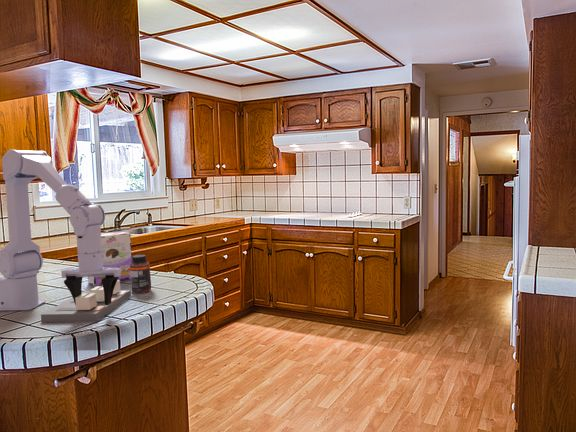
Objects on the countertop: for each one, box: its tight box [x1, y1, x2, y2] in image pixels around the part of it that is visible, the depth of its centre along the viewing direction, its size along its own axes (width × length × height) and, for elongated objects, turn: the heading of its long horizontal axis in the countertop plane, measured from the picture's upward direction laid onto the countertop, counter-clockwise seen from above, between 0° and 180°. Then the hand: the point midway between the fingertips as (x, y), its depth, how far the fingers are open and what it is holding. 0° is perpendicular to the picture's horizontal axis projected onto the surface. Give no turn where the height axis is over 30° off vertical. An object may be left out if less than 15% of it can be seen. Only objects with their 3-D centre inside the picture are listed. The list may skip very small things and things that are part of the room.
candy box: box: [87, 231, 133, 287], centre depth 157 cm, size 14×6×16 cm, turn 134°
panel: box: [40, 289, 132, 323], centre depth 125 cm, size 14×23×2 cm, turn 178°
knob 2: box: [102, 280, 122, 294], centre depth 132 cm, size 4×4×3 cm
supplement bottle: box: [130, 254, 152, 294], centre depth 142 cm, size 6×6×11 cm
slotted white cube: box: [75, 293, 97, 310], centre depth 118 cm, size 4×4×3 cm
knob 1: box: [89, 285, 104, 302], centre depth 125 cm, size 4×4×3 cm
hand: (93, 304), depth 118 cm, fingers open, 7 cm apart
